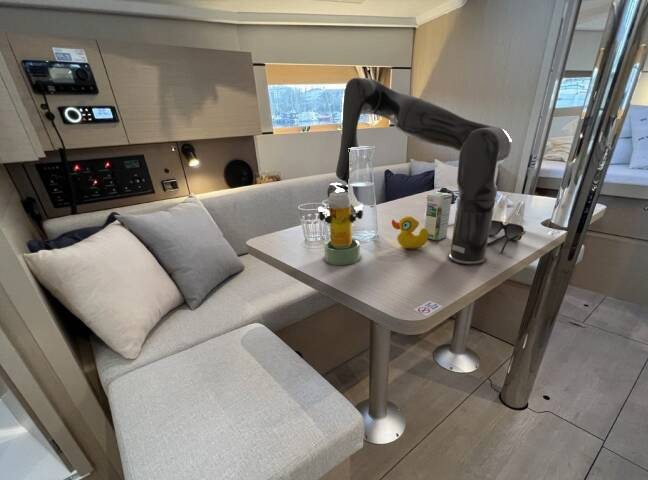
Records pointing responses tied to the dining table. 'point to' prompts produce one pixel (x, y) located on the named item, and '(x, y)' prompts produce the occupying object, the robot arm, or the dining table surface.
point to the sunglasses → (507, 231)
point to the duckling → (410, 233)
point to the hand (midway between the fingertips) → (340, 219)
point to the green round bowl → (342, 253)
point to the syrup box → (437, 215)
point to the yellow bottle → (340, 219)
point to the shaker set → (501, 211)
